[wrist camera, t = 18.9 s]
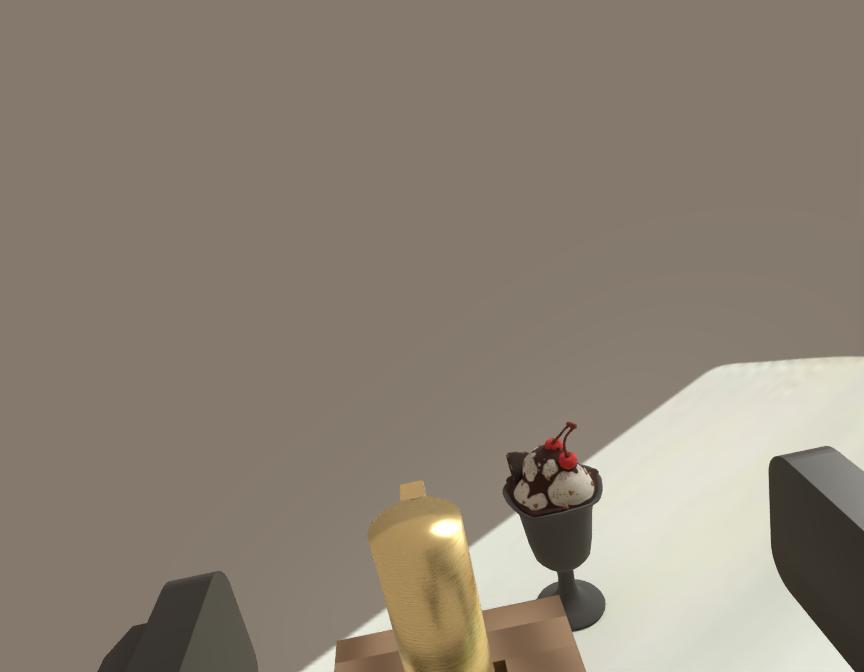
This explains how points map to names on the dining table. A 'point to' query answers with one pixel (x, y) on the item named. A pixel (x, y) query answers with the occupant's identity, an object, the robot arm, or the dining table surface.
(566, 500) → the sundae
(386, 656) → the walnut socket block
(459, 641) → the brass peg
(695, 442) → the dining table surface
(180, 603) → the robot arm
